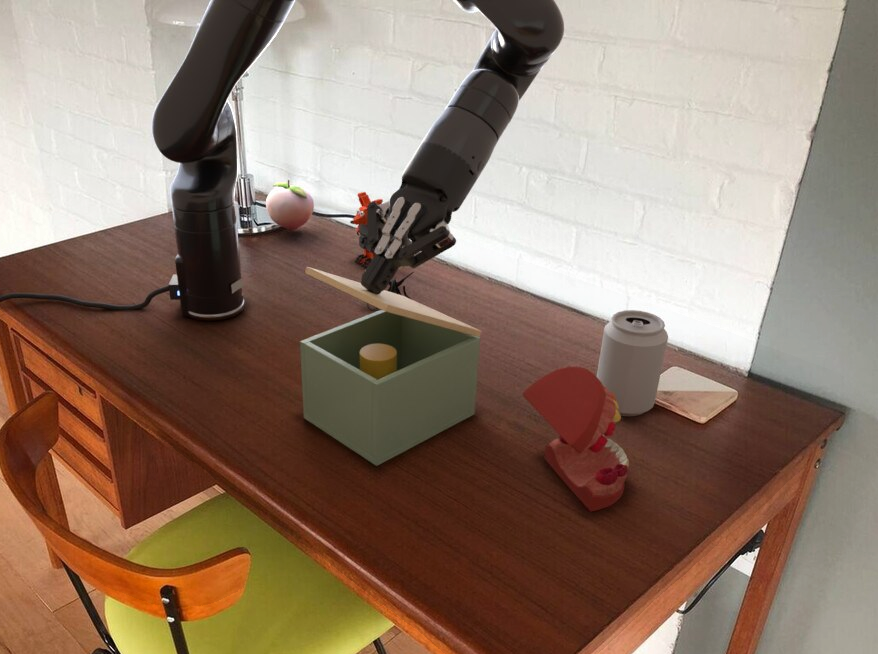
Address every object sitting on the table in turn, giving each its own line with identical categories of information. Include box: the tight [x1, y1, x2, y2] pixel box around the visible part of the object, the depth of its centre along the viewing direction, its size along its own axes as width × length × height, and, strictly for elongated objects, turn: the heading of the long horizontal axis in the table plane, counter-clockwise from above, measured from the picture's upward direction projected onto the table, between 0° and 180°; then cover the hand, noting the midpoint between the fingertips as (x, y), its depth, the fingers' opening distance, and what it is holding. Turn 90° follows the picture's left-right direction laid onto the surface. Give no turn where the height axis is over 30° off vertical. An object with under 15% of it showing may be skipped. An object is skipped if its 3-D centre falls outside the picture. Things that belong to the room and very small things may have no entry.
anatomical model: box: [522, 366, 630, 513], centre depth 89 cm, size 10×8×15 cm
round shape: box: [360, 344, 397, 380], centre depth 100 cm, size 4×4×9 cm
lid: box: [304, 266, 483, 338], centre depth 96 cm, size 17×14×1 cm
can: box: [596, 309, 669, 417], centre depth 103 cm, size 8×8×12 cm
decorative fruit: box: [265, 179, 315, 232], centre depth 159 cm, size 9×8×10 cm
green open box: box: [299, 309, 481, 467], centre depth 101 cm, size 17×14×11 cm
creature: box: [366, 271, 415, 311], centre depth 130 cm, size 8×5×8 cm
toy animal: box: [349, 191, 384, 269], centre depth 144 cm, size 8×6×12 cm
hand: (369, 289), depth 93 cm, fingers closed
